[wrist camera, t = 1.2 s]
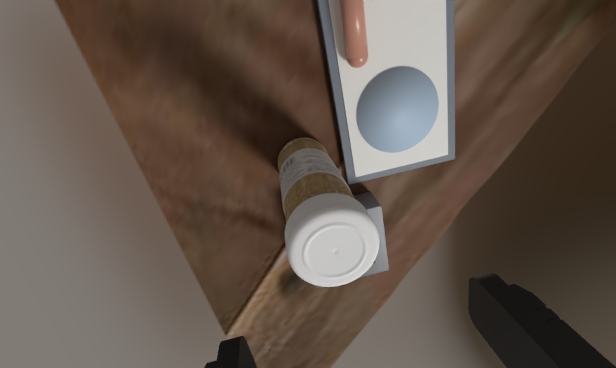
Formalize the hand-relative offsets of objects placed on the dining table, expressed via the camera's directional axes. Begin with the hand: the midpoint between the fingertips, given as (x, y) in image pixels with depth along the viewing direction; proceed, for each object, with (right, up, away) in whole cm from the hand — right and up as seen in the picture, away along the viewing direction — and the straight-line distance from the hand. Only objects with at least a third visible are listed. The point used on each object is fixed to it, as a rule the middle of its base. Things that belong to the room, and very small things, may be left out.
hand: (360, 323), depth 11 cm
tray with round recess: (+5, +14, +14) cm, 20 cm away
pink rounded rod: (+1, +17, +12) cm, 21 cm away
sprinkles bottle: (-2, +7, +16) cm, 18 cm away
